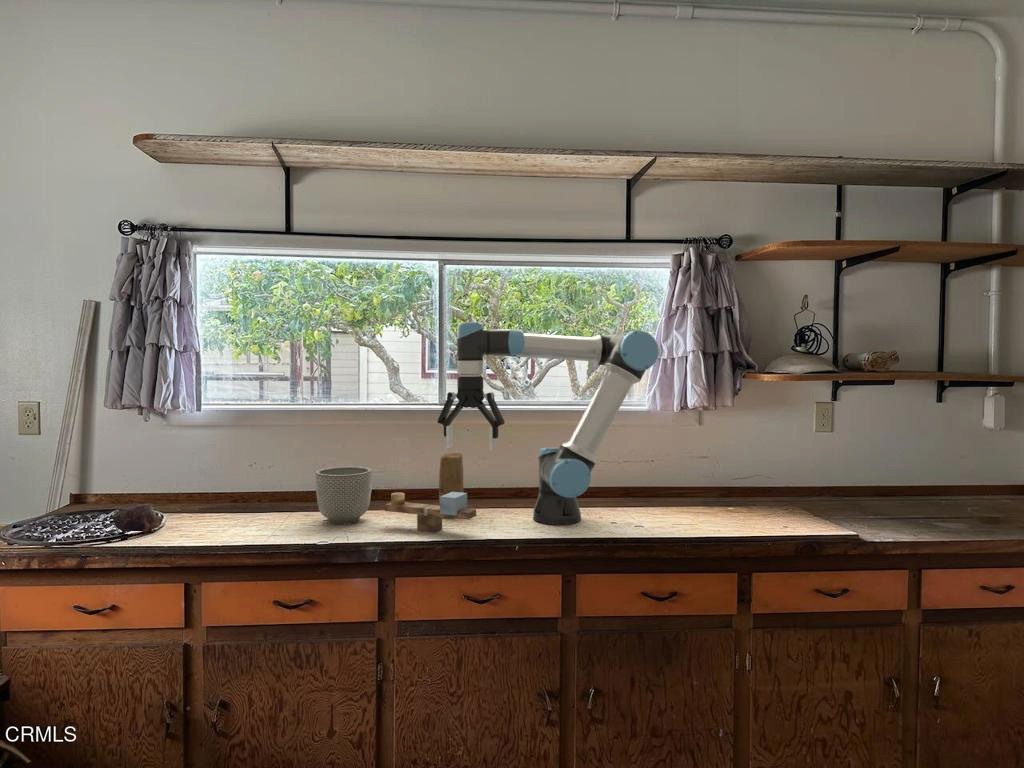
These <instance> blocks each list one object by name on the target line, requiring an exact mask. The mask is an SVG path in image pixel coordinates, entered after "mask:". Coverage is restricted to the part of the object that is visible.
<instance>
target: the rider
mask: <svg viewBox="0 0 1024 768" xmlns="http://www.w3.org/2000/svg"><path fill="white" fill-rule="evenodd" d="M463 508H468V492H463V493H461V492H450V493H448V494H445V495H443V496H440V514H446V515H457V511H459V510H461V509H463Z"/></svg>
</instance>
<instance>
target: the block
mask: <svg viewBox="0 0 1024 768" xmlns="http://www.w3.org/2000/svg"><path fill="white" fill-rule="evenodd" d="M438 473H439V476H438V477H439V478H438V483H439V484H438V505H439V506H440V496H443V495H445V494H448V493H450V492H461V493H464V490H465V489H464V463H463V455H462V453H460V452H454V453H453V452H451V453H447V452H446V453H444V454H443V455H442V456H441V458H440V463H439V472H438Z"/></svg>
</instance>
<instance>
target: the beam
mask: <svg viewBox="0 0 1024 768" xmlns="http://www.w3.org/2000/svg"><path fill="white" fill-rule="evenodd" d="M405 495H406V494H405V493H404V492H400V491H399V492H392V493H391V494H390V496H391V497H390V498H391V499H390V500H391V501H390V502H388V503H386V504H384V512H390V513H401V514H410V515H416V525H417V526H416V527H417V529H416V530H417V532H422V533H423V532H424V533H430V534H431V533H432V534H433V533H434V534H435V533H438V532H439V531H441V530H443V518H446V519H447V518H449V519H459V520H471V519H473V518H474V517H477V508H468V507H467V508H463V509H461V510H459V511H457V515H446V514H440V506H439V504H438V505H437V504H426V503H417V502H408V501H407V502H406V500H405V499H406V498H405V497H406V496H405Z"/></svg>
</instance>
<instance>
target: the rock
mask: <svg viewBox="0 0 1024 768" xmlns="http://www.w3.org/2000/svg"><path fill="white" fill-rule="evenodd" d="M111 520H112V521H113V523H114V525H115V528H116V527H117V528H118V529H121V530H125V531H143V533H148V530H152V529H154V528H156V529H157V528H159V527H160V526H161V525H162V523H163V517H162V515H157V514H156V512H155V510H154V508H153V506H152V503H141V504H137V505H135V506H134V507H128V508H124V509H122V510H119V511H118V512H116V513H114V514H113V516H111ZM117 528H116V529H117ZM118 529H117V530H118ZM154 530H155V529H154Z"/></svg>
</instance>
